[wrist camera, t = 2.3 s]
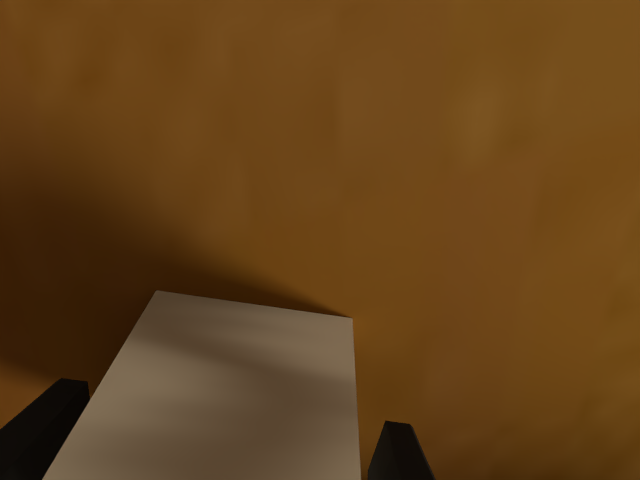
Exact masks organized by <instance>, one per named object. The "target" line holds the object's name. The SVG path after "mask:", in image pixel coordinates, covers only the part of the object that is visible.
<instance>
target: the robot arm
mask: <svg viewBox="0 0 640 480" xmlns="http://www.w3.org/2000/svg"><path fill="white" fill-rule="evenodd" d="M89 401H90V396H89V389H88V383H87V382H86V381H78V380H71V379H63V378H61V379H59V380H58V381H56V382H55V383H54V384H53V385H52V386H51V387H49V388H48V389H47V390H46V391H45V392H44V393H42V394H41V395H40V396H39V397H38V398H37V399H35V400H34V401H33V402H32V403H31V404H30V405H28V406H27V407H26V408H25V409H24V410H23V411H21V412H20V413H19V414H18V415H17V416H16V417H14V418H13V419H12V420H11V421H10V422H8V423H7V424H6V425H5V426H4V427H2V428H1V429H0V480H42V479H43V477H44V476H45V474H46V472H47V471H48V469H49V467H50V466H51V464H52V462H53V461H54V459H55V457H56V456H57V454H58V452H59V451H60V449H61V447H62V446H63V444H64V442H65V441H66V439H67V438H68V436H69V434H70V433H71V431H72V429H73V428H74V426H75V424H76V423H77V421H78V419H79V418H80V416H81V414H82V413H83V411H84V409H85V408H86V406H87V404H88V403H89ZM368 480H436V479H435V477H434V475H433V473H432V471H431V469H430V466H429V464H428V462H427V460H426V457H425V455H424V453H423V451H422V448H421V446H420V444H419V441H418V439H417V437H416V434H415V432H414V429H413V427H412V426H411V425H410V424H406V423H398V422H390V421H385V424H384V427H383V429H382V432H381V435H380V438H379V441H378V443H377V446H376V449H375V452H374V455H373V458H372V460H371V463H370V466H369V469H368Z"/></svg>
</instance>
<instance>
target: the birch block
mask: <svg viewBox="0 0 640 480" xmlns="http://www.w3.org/2000/svg"><path fill="white" fill-rule="evenodd" d="M42 480H361V470H360V452H359V433H358V415H357V396H356V378H355V359H354V341H353V322H352V318H347V317H340V316H333V315H326V314H319V313H312V312H305V311H298V310H291V309H284V308H277V307H270V306H263V305H256V304H249V303H242V302H235V301H228V300H221V299H214V298H207V297H200V296H193V295H186V294H179V293H172V292H165V291H158V290H156V292H155V293H154V295H153V296H152V298H151V300H150V301H149V303H148V305H147V306H146V308H145V310H144V311H143V313H142V315H141V316H140V318H139V320H138V321H137V323H136V325H135V326H134V328H133V330H132V331H131V333H130V335H129V336H128V338H127V340H126V341H125V343H124V345H123V346H122V348H121V350H120V351H119V353H118V355H117V356H116V358H115V360H114V361H113V363H112V365H111V366H110V368H109V369H108V371H107V373H106V374H105V376H104V378H103V379H102V381H101V383H100V384H99V386H98V388H97V389H96V391H95V393H94V394H93V396H92V398H91V399H90V401H89V403H88V404H87V406H86V408H85V409H84V411H83V413H82V414H81V416H80V418H79V419H78V421H77V423H76V424H75V426H74V428H73V429H72V431H71V433H70V434H69V436H68V438H67V439H66V441H65V442H64V444H63V446H62V447H61V449H60V451H59V452H58V454H57V456H56V457H55V459H54V461H53V462H52V464H51V466H50V467H49V469H48V471H47V472H46V474H45V476H44V477H43V479H42Z"/></svg>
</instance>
